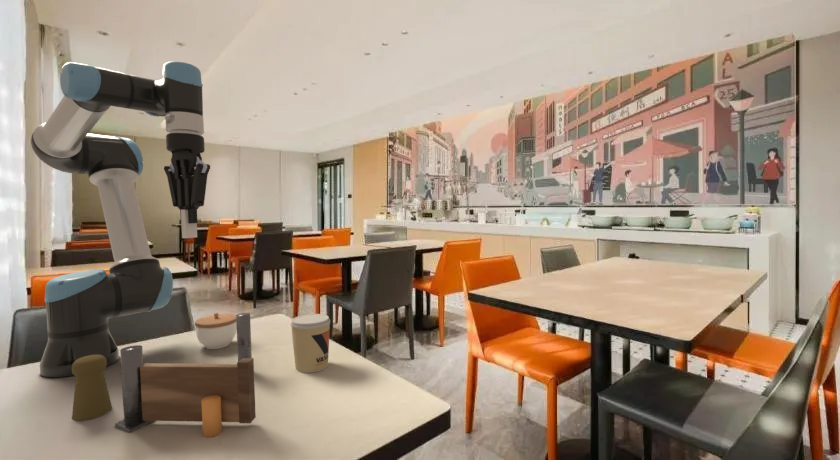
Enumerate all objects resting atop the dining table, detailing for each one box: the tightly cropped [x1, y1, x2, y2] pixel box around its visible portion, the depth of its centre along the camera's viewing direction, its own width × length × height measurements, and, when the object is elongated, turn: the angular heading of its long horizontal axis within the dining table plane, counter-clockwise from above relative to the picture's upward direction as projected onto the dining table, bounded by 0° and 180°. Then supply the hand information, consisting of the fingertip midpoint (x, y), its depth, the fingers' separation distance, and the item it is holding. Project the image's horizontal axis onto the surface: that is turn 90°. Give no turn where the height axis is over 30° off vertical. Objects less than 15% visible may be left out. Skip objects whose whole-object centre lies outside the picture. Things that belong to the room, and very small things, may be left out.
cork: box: [71, 355, 113, 422], centre depth 77 cm, size 6×6×11 cm
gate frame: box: [114, 312, 253, 433], centre depth 83 cm, size 4×28×14 cm, turn 155°
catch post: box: [201, 395, 223, 438], centre depth 70 cm, size 3×3×6 cm
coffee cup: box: [290, 313, 331, 374], centre depth 98 cm, size 9×9×12 cm
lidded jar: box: [194, 312, 237, 350], centre depth 114 cm, size 11×11×9 cm
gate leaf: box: [140, 357, 257, 424], centre depth 72 cm, size 2×20×11 cm, turn 87°
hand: (189, 237), depth 93 cm, fingers closed
